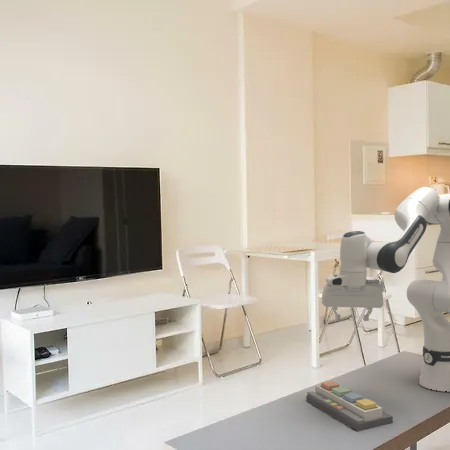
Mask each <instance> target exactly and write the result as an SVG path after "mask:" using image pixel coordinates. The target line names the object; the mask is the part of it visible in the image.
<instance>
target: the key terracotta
mask: <svg viewBox="0 0 450 450" xmlns="http://www.w3.org/2000/svg"><path fill="white" fill-rule="evenodd" d="M320 385H321V387H322V388H323V389H325V390H327V391H332V388H336V387H339V386H340V383H336V382H335V381H333V380H328V381H327V380H326V381H323V382H320Z"/></svg>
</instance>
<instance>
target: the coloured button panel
mask: <svg viewBox="0 0 450 450" xmlns="http://www.w3.org/2000/svg"><path fill="white" fill-rule="evenodd" d="M339 387H341V386H340V385H339ZM351 393H353V392H352V391H351ZM363 399H365V398H364V397H363ZM305 400H306V402H307V403H309V404H311V405H312V406H314V407H315V408H318V409H319V410H321V411H323V412H324V413H326V414H327V415H329V416H330V417H332V418H334V419H335V420H337V421H339V422H341V423H342V424H345V426H347V427H350V428H351V429H353V430H354V431H356V432H360V431H363V430H368V429H372V428H376V427H380V426H384V425H388V424H392V423H393V422H394V421H393V415H391V414H389V413H387V412H385V411H383V407H381V406H379V405H377V404H376V408H375V409H370V410H366V411H365V410H363V409H361V408H359V407H357V406H356V403H353V404H352V403H350V402H348V401H346V400H344V397H338V396H337V395H335V394H333V393H332V391H327V390H325V389H323V388H322V387H321V384H318V385H315V391H308V392H307V394H306V399H305Z"/></svg>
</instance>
